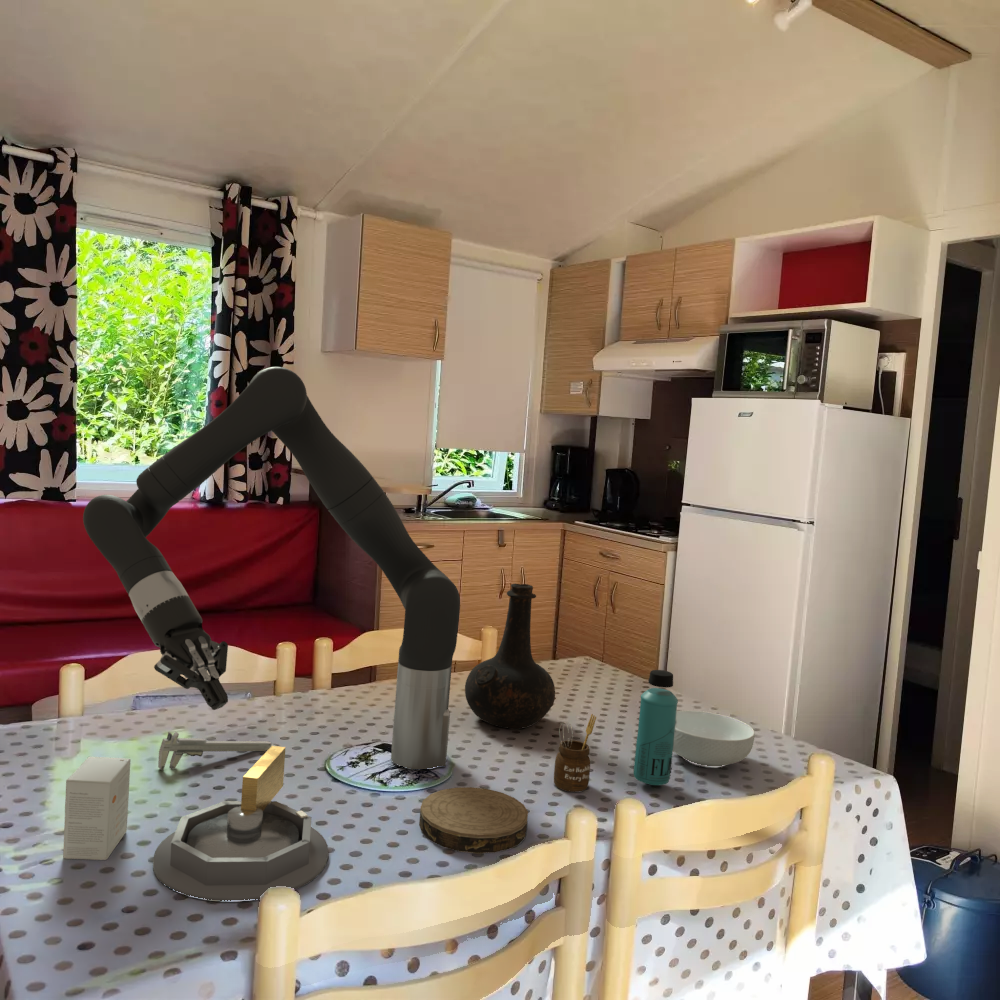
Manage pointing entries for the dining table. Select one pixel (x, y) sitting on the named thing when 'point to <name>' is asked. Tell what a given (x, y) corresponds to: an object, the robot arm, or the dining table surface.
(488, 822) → the wooden log slice
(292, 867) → the dial housing
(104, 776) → the small box
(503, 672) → the glass bottle
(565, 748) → the utensil holder
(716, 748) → the cereal bowl
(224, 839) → the dial
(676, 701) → the beverage bottle
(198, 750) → the caliper
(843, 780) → the dining table surface
